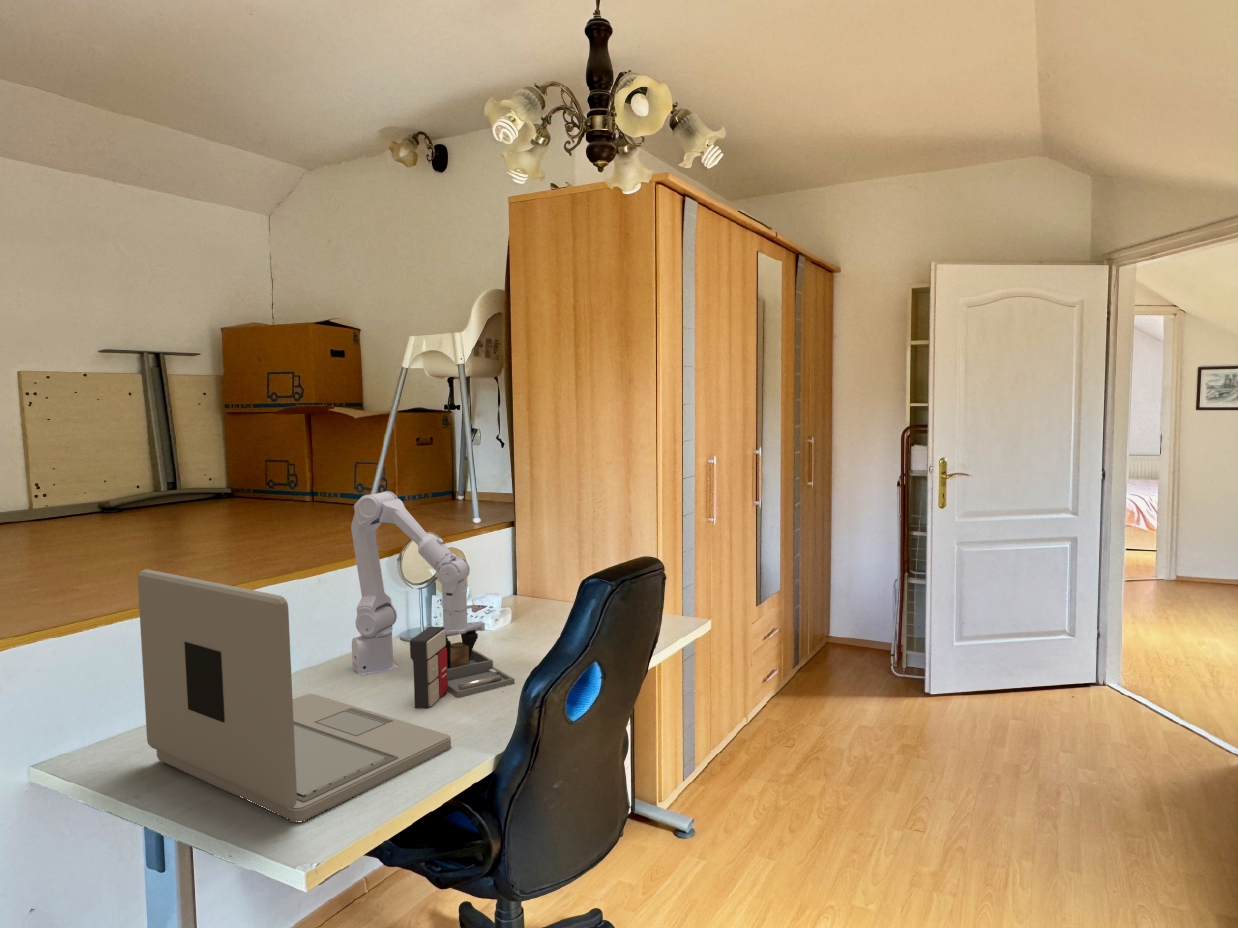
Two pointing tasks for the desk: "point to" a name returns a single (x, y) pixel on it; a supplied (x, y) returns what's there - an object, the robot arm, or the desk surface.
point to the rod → (479, 682)
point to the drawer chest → (429, 666)
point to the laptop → (256, 704)
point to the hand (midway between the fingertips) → (456, 664)
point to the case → (471, 666)
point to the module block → (458, 655)
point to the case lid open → (494, 671)
